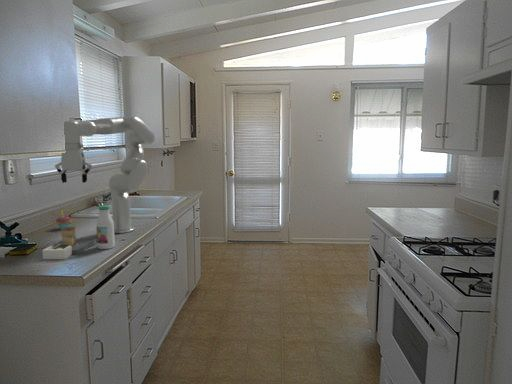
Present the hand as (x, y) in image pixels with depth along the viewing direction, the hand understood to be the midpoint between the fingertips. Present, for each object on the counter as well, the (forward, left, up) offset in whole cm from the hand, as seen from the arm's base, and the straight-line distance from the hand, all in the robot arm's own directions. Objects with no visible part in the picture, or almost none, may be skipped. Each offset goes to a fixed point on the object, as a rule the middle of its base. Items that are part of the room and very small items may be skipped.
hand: (74, 182), depth 190 cm
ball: (+22, +1, -28) cm, 36 cm away
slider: (+12, +1, -28) cm, 30 cm away
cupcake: (-30, -21, -31) cm, 48 cm away
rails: (+16, +1, -28) cm, 32 cm away
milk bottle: (+9, +17, -31) cm, 36 cm away
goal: (+23, +1, -30) cm, 38 cm away
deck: (+12, +1, -30) cm, 33 cm away
